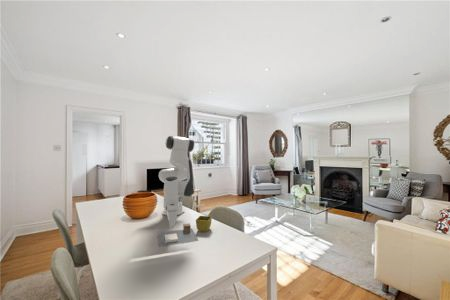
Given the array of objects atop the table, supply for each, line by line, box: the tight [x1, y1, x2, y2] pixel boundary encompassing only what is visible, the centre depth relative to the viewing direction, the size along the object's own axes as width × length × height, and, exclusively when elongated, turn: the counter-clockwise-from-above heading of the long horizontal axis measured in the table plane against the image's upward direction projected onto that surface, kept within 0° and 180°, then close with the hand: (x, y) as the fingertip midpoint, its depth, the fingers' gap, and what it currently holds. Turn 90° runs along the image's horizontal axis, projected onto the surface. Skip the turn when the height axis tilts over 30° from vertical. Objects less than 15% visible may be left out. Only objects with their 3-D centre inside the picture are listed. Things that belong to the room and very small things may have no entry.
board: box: [157, 228, 199, 247], centre depth 121 cm, size 20×22×1 cm
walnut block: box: [182, 222, 191, 232], centre depth 130 cm, size 4×4×4 cm
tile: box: [165, 233, 178, 243], centre depth 117 cm, size 2×7×8 cm
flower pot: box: [195, 215, 213, 233], centre depth 132 cm, size 9×9×9 cm
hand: (170, 227), depth 119 cm, fingers closed
